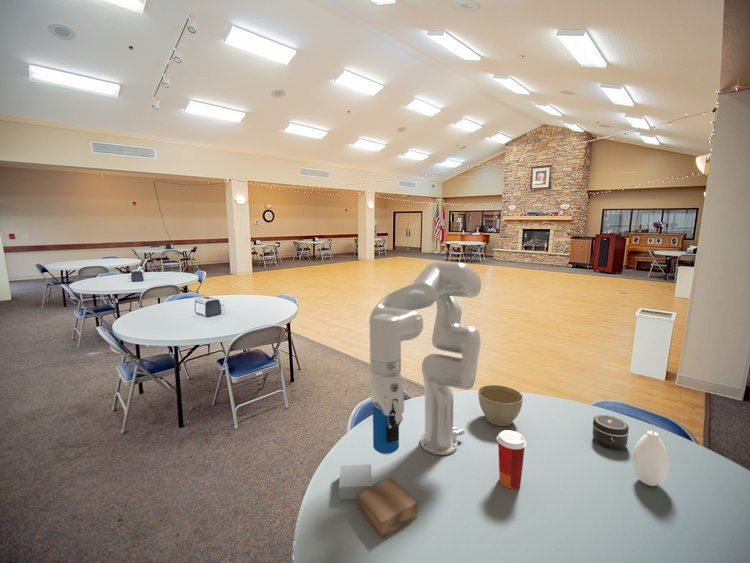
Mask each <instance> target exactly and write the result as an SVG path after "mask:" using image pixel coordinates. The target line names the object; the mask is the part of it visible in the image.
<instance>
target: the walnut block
mask: <svg viewBox="0 0 750 563" xmlns="http://www.w3.org/2000/svg"><path fill="white" fill-rule="evenodd" d="M356 500H357V509H358V510H359V512H360V513H361V515H363V517H364V518H365V519H366V521H367V522H368V523H369V525H370V526H371V527H372V528H373V529H374V530H375V532H376V533H377V534H378V536H380V538H381V539H383V538H385V537H387V536H388V535H389V534H391V533H393V532H394V531H396V530H398V529H399V528H401V527H403V526H404V525H406V524H408V523H410V522H411V521H412V520H414V519H416V518H417V517H418V502H417V501H416V500H415V499H414V498H413V496H411V495H410V494H409V493H408V492H407V491H406V490H405V489H404V488H403V487H401V485H400V484H398V483H397V481H395V480H394V479H393V478H392V477H390V478H388V479H386V480H384V481H381V482H379V483H377V484H376V485H374V486H373V485H372V487H371V488H369V489H367V490H365V491H363V492H361V493H359V494H357V499H356Z"/></svg>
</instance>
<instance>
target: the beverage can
mask: <svg viewBox="0 0 750 563" xmlns="http://www.w3.org/2000/svg"><path fill="white" fill-rule="evenodd" d="M372 406H373V407H372V433H373V434H372V439H373V440H372V443H373V444H372V447H373V449H374V450H375V451H376V452H377V453H379V454H381V455H392V454H393V453H395V452H397V450H399V448H400V439H399V440H397V441H394V442H390V443H387V442H386V426H387V420H386V415H384V414H383V413H382V410H381V408H379V407H378V406H377V404H376V403H374V404H373V405H372ZM390 413H394V412H393V410H391V412H389V414H390ZM394 418H395V415H394V416H390V420H391V421H392V420H394Z"/></svg>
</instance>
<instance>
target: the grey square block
mask: <svg viewBox="0 0 750 563" xmlns="http://www.w3.org/2000/svg"><path fill="white" fill-rule="evenodd" d="M339 471H340V472H339V483H338V498H339V500H340V501H341V500H357V494H359V493H361V492H363V491H365V490H367V489H369V488H371V487H373V476H372V464H371V463H368V464H364V463H363V464H347V465H340V470H339Z"/></svg>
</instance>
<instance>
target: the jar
mask: <svg viewBox="0 0 750 563" xmlns="http://www.w3.org/2000/svg"><path fill="white" fill-rule="evenodd" d="M629 430H630V429H629V424H628V423H627V422H625V421H624V420H623V419H621V418H618V417H616V416H612V415H608V414H598V415H597V414H596V415H595V416H594V417H593V420H592V436H593V441H594V442H595V443H597V444H598V445H599V446H600V447H603V448H605V449H608V450H612V451H622V450H624V449H625V448H626V447H627V444H628V442H629V441H628V437H629Z"/></svg>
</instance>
